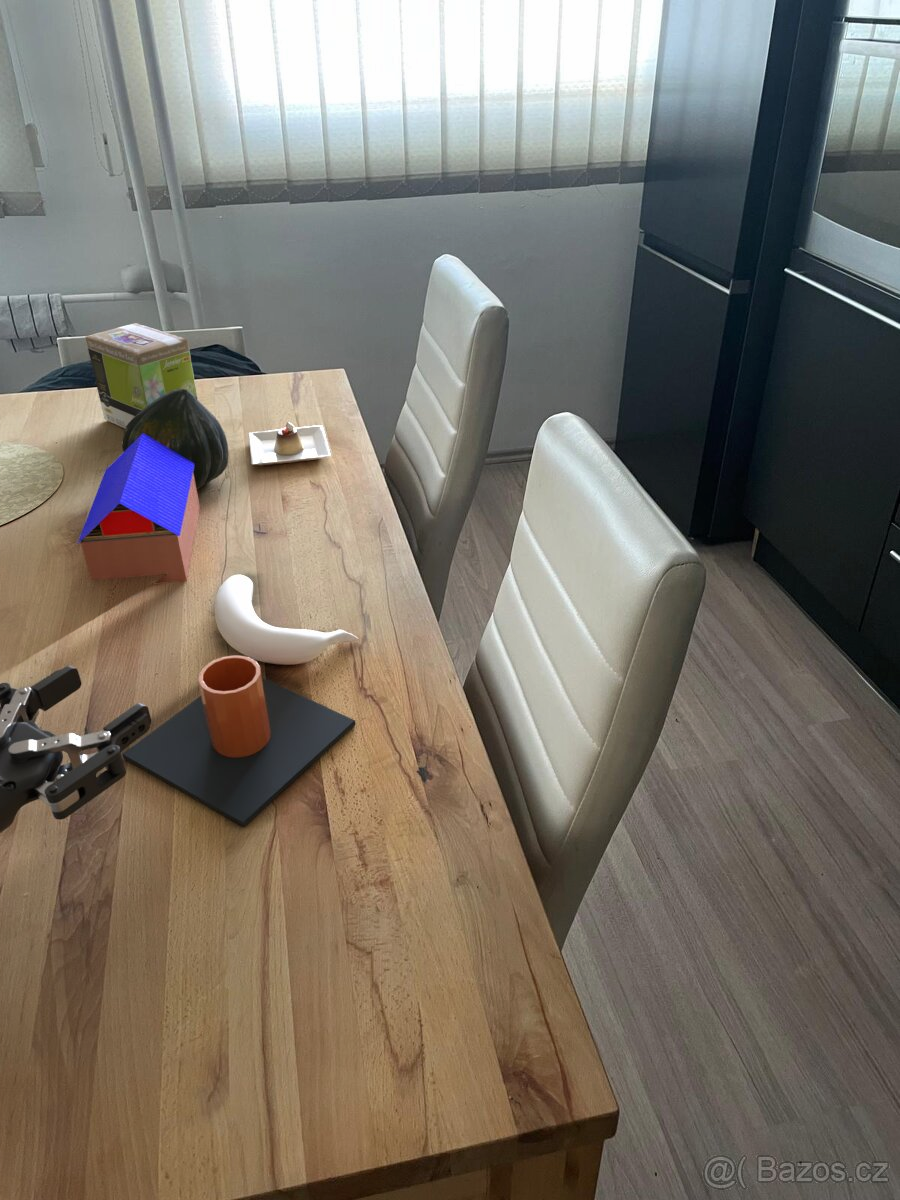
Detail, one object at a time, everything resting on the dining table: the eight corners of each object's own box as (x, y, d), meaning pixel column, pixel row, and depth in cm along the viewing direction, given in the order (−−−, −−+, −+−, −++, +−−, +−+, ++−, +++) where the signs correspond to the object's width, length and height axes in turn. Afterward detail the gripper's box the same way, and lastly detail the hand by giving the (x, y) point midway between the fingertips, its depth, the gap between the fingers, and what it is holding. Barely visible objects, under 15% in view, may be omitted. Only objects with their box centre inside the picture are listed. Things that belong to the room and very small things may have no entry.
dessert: (252, 470, 140) (248, 441, 137) (249, 438, 149) (245, 411, 147) (331, 462, 142) (328, 433, 139) (322, 431, 152) (320, 403, 149)
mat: (123, 758, 89) (121, 753, 88) (240, 670, 100) (239, 666, 99) (243, 827, 81) (242, 822, 81) (355, 724, 92) (355, 720, 92)
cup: (199, 743, 90) (185, 679, 85) (241, 710, 93) (229, 648, 89) (242, 766, 87) (229, 701, 82) (282, 731, 91) (273, 668, 86)
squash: (87, 465, 130) (136, 394, 122) (140, 427, 142) (188, 359, 134) (166, 532, 133) (220, 466, 125) (212, 488, 145) (263, 426, 137)
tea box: (204, 424, 154) (189, 338, 146) (153, 444, 148) (135, 354, 140) (152, 402, 163) (135, 319, 154) (102, 420, 156) (81, 334, 148)
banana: (205, 594, 112) (321, 570, 116) (235, 693, 98) (366, 661, 102) (199, 561, 109) (318, 537, 113) (229, 658, 95) (364, 627, 99)
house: (90, 590, 113) (66, 507, 107) (116, 512, 130) (97, 436, 123) (189, 582, 114) (171, 499, 108) (202, 506, 131) (188, 429, 124)
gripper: (-34, 830, 58) (163, 688, 69) (-155, 744, 64) (43, 627, 75) (1, 905, 62) (181, 760, 73) (-116, 817, 69) (66, 696, 80)
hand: (110, 693), depth 74 cm, fingers open, 8 cm apart
